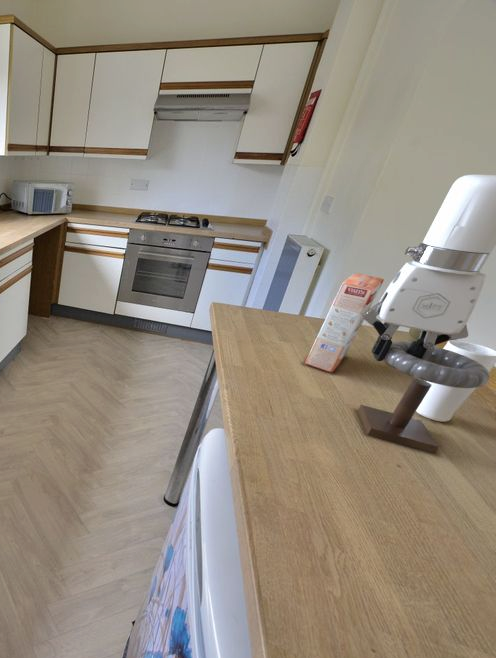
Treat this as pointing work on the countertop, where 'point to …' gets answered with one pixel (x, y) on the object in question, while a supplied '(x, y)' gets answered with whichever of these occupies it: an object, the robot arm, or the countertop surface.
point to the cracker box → (343, 321)
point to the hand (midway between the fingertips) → (392, 360)
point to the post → (401, 420)
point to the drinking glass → (449, 399)
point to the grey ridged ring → (438, 366)
